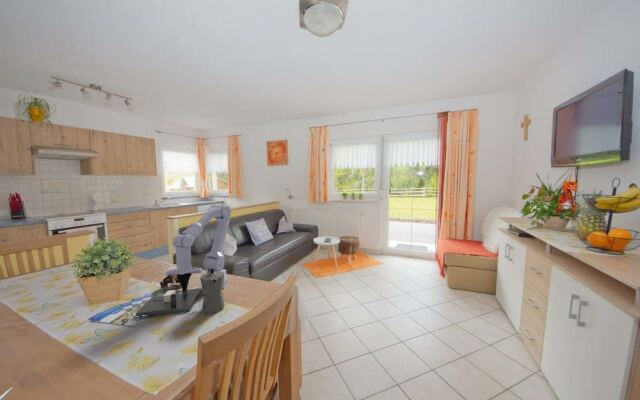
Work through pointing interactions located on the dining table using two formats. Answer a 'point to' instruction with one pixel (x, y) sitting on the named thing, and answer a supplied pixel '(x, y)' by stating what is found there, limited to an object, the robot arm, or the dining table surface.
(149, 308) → the panel
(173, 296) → the black cylinder
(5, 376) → the dining table surface
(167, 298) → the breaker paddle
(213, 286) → the coffeepot
